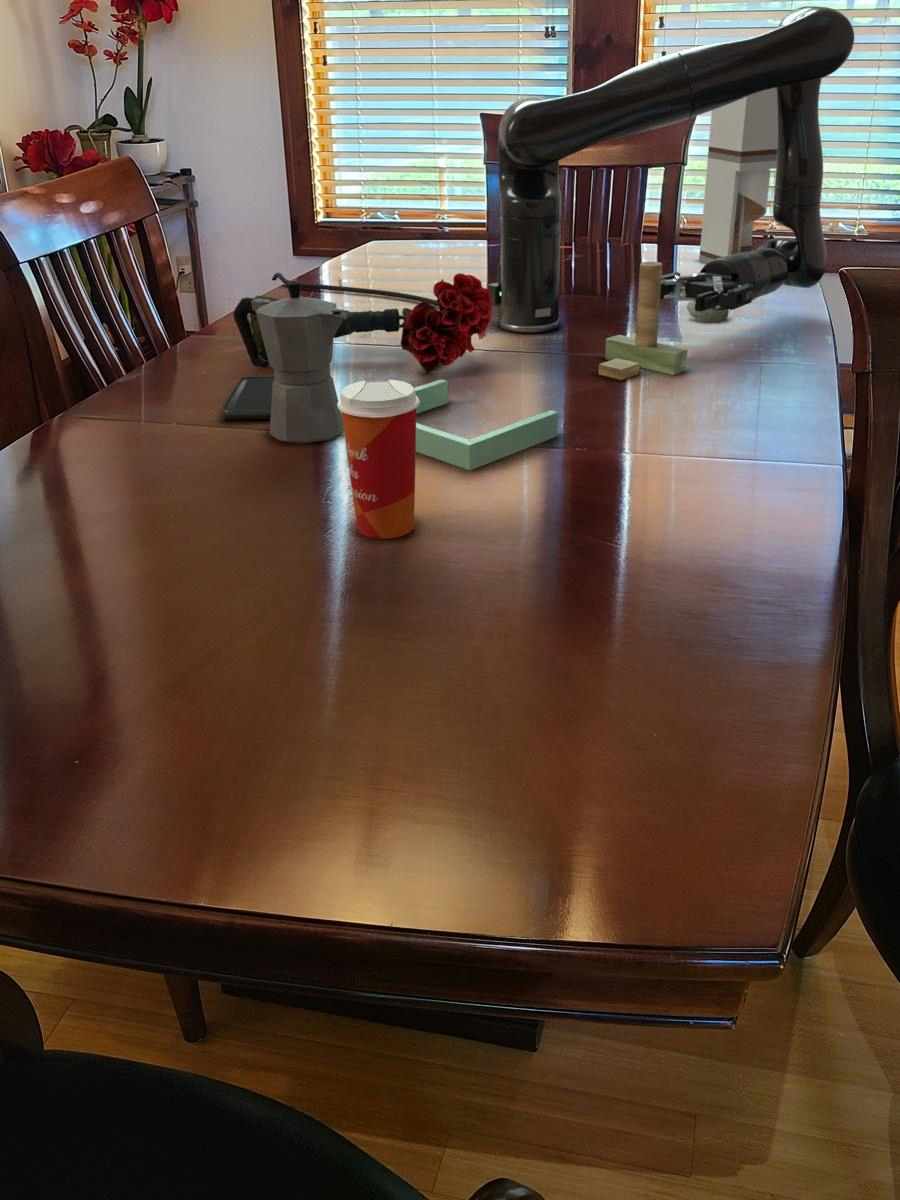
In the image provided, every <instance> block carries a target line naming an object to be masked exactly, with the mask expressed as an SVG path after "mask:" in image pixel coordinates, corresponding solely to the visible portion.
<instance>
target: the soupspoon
mask: <svg viewBox="0 0 900 1200" xmlns="http://www.w3.org/2000/svg"><path fill="white" fill-rule="evenodd" d="M684 288H685V287H681V293H685V289H684ZM686 309H687V311H688V313H689V315H690V316H692V317H693V318H695V319H696V320H699V321H702V322H706V323H718V322H723V321H724V320H726V319H727V318H728V317H729V315H730V314H729V312H730V310H729V309H727V310H721V311H720V310H714V309H712V308H710V309H707V310H704V311H701V312H699V311H696V310H695V301H693V300H690V301H689V302H688V303H687V304H686Z"/></svg>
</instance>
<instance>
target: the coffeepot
mask: <svg viewBox="0 0 900 1200" xmlns="http://www.w3.org/2000/svg"><path fill="white" fill-rule="evenodd" d="M290 281H291V282H288V283H287V285H286V287H287V290H288V294H289V297H286V298H282V299H281V298H280V300H277V301H274V302H271V301H270V300H268V299H254V298H255V297H248V296H247V297H243V298H241V299H240V301H239V302H238V303H237V305H236V307H235V308H234V310H233V314H232V315H233V320H234V322H235V324H236V326H237V329H238V332H239V334H240V336H241V339H242V342H243V344H244V346H245V349H246V351H247V354H248V356H249V359H250V361H251V363H252V365H253V366H255V367H258V368H264V369H265V368H268V367H271V368H272V369H273V376H274V378H275V379H274V382H273V386H272V403H271V419H269V420H270V421H269V435H270V436H272V437H273V438H274V439H275V440H277V441H280V442H283V443H288V444H289V443H290V444H313V443H320V442H325V441H329V440H331V439H333V438H336V437H337V436H339V435H341V434H342V432H343V429H344V427H343V420H342V412H341V411H340V410H339V409H338V407H337V404H338V402H339V397H338V393H337V390H336V386H335V382H334V378H333V376H332V375H331V363H332V361H333V354H334V339H335V338H334V336H335V334H336V332H337V330H338V328H339V326H340V324H341V323H342V321H343V320H345V319H347V315H346V313H345V312H342V310H343V309H339V308H337V306H336V305H337V304H336V302H332V301H327V300H323V299H320V298H314V297H308V296H307V297H306V296H301V288H302V287H301V283H302V282H300V281H297V280H290ZM250 314H253V315H256V316H257V318H258V322H259V326H260V330H261V334H262V338H263V342H264V346H265V349H266V353H267V357H266V358H267V359H265V358H261V356H260V355H259V354H258V347H257V343H256V341H255V339H254V337H253V330H252V327H251V321H250V320H249V317H248V315H250Z"/></svg>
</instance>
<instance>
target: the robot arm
mask: <svg viewBox="0 0 900 1200" xmlns="http://www.w3.org/2000/svg"><path fill="white" fill-rule="evenodd" d="M854 43H855V31H854V27H853V25H852V23H851V21H850V19H848V18H847V17H846V15H844V14H843V13H842V12H840V11H838V10H837V9H834V8H831V7H827V6H815V5H814V6H809V5H807V6H806V5H805V6H800V7H798V8H795V9H793V10H791V11H790V12H789V13H788V14H786V15H785V16H784V18H783V19H781V21H780V22H779V25H778V26H777V28H775V29H772V30H770V31H766V32H764V33H761V34H759V35H755V36H752V37H747V38H744V39H737V40H728V41H722V42H715V43H708V44H703V45H697V46H693V47H688V48H685V49H681V50H676V51H673V52H670V53H668V54H665V55H661V56H658V57H656V58H655V57H654V58H652V59H650V60H647V61H645V62H643V63H640V64H638V65H636V66H634V67H630V68H629V69H627V70H626V71H623V72H621V73H619V74H617V75H616V76H614V77H613V78H611V79H609V80H607V81H605V82H603V83H602V84H600V85H597V86H595V87H592V88H590V89H587V90H584V91H580V92H577V93H572V94H569V95H568V94H567V95H564V96H559V97H555V98H550V99H549V98H548V99H540V98H537V97H523V98H520V99H518V100H516V101H515V102H513V103H511V105H509V107H507V108H506V110H505V111H504V112H503V114H502V116H501V119H500V122H499V125H498V142H497V144H498V148H497V149H498V150H497V151H498V192H499V202H500V262H499V263H498V264H497V282H493V283H488V284H487V289H488V290H489V292H490V294H491V300H492V306H497V324H500V327H501V329H503V330H506V331H509V332H514V333H522V334H531V333H532V334H535V333H544V332H549V331H552V330H555V329H558V327H559V326H560V318H559V310H560V309H559V308H560V307H559V306H560V274H561V273H560V271H561V231H562V229H561V227H562V194H561V188H560V187H561V185H560V176H559V175H560V173H559V172H560V171H559V170H560V168H559V167H560V166H559V165H560V160H563V159H565V158H567V157H569V156H571V155H574V154H576V153H578V152H581V151H583V150H585V149H587V148H590V147H593V146H596V145H597V144H600V143H603V142H606V141H611V140H615V139H620V138H625V137H628V136H629V137H630V136H633V135H637V134H641V133H645V132H649V131H652V130H656V129H660V128H663V127H668V126H670V125H674V124H677V123H681V122H683V121H686V120H689V119H692V118H695V117H698V116H700V115H702V114H706V113H708V112H712V110H714V109H717V108H719V107H722V106H725V105H727V104H730V103H732V102H735V101H737V100H740V99H742V98H745V97H747V96H749V95H752V94H755V93H758V92H761V91H764V90H768V89H772V88H776V87H777V108H778V145H777V164H776V169H775V179H774V188H773V189H774V191H773V205H772V219H773V220H774V222H775V223H777V224H779V225H781V226H783V227H785V228H787V229H790V230H791V231H792V232H793V234H794V237H795V239H792V238H782V237H779V238H778V237H777V238H770V239H768V240H766V241H764V242H763V243H761V245H760V246H757V247H758V248H757V249H756V250H753V251H749V252H740V253H735V254H732V255H728V256H725V257H721V258H717V259H714V260H711V261H710V262H708V263H705V265H703V267H702V268H701V270H700V271H699V272H694V273H693V274H684V275H683V274H682V275H681V272H678V271H674V272H671V273H667V274H662V278H661V293H660V300H664V299H673V300H675V301H676V302H687V301H695V310H696V311H699V312H701V311H704V310H707V309H710V308H712V309H714V310H720V311H721V310H727V309H728V310H729V311H732V310H736V309H738V308H739V309H740V308H741V307H744V306H746V305H749V304H751V303H752V302H753V301H754V300H756V299H757V298H760V297H763V296H766V295H769V294H772V293H774V292H776V291H777V290H779V289H780V288H781V287H782V286H788V287H796V288H802V289H807V288H808V289H809V288H812V287H814V286H816V285H817V284H818V283H819V282H820V281H821V280H822V278H823V276H824V275H825V272H826V269H827V262H828V255H827V254H828V253H827V247H826V241H825V236H824V231H823V224H822V217H821V201H822V192H823V181H824V180H823V179H824V153H823V146H822V145H823V144H822V139H821V137H822V136H821V130H820V121H819V102H820V101H819V100H820V90H821V85H822V84H821V83H822V79H824V78H827V77H828V76H830V75H832V74H833V73H835V72H836V71H837V70H839V69H840V68H841V67H842V66H843V65H844V64H845V62H846V61H847V60H848V58H849V57H850V55H851V53H852V51H853V47H854ZM278 280H280V281H281V283H283V284H285V285H286V286H287V283H288V282H291V281H292V280H289V279H287V278H285V277H284V275H283V274H282V273H281V272H275V273H274V274H273V276H272V278H271V281H278ZM300 283H301V287H300V288H302V289H315V290H323V291H334V292H343V293H344V292H345V293H355V294H366V295H375V296H385V297H390V298H399V299H404V300H409V301H416V302H419V303H422V302H426V301H427V303H429V304H430V305H431V306H434V307H435V306H436V307H439V304H438V301H435V300H436V299H433V298H429V297H424V296H420V295H414V294H410V293H404V292H397V291H391V290H390V291H389V290H382V289H373V288H363V287H353V286H352V287H351V286H342V285H331V284H330V285H329V284H321V283H320V284H319V283H310V282H300ZM681 287H685V288H684V289H685V291H684V294H682V295H681V293H682V292H681Z"/></svg>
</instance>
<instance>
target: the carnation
mask: <svg viewBox="0 0 900 1200" xmlns="http://www.w3.org/2000/svg"><path fill="white" fill-rule="evenodd" d="M452 282H453V284H452V283H450V282H447V281H444V279H443V278H441V280H440V281H437V282H436V283H435V284H434V285H433V290H432V293H433V294H434V296H435V298H437V299H434V300H435V301H438V304H439V306H438V308H439V310H438V309H437V308H436V307H435V306H434V305H432V304H429V303H427V301H426V302H419V303H418V304H417V305H415V306H414V307H413V308H412V309H411V308H407V307H404V308H403V309H402V312H401V314H400V312H399V309H398V308H385V309H384V310H383V311H382V310H375V311H373V310H370V309H369V310H367V311H365V310H363V311H358V310H357V311H350V310H347V309H346V310H345V309H341V310H342V312H345V313H346V315H347V319H345V320H343V321H342V323H341V324H340V326H339V328H338V330H337V332H336V334H335V336H334V339H338V338H341V337H344V336H350V335H352V334H353V333H370V332H374V331H384V332H386V333H395V332H399V331H400V328H401V329H402V332H401V339H400V345H401V349H402V350H404V351H407V352H408V353H410V354H411V355H412V356H413V357H414V358H415V359H416V360H417V362H418V364H419V365H420V367H421V368H422V370H423V371H424V372H425V373H430V372H431V371H434V370H435V369H437V368H438V367H439V366H440V365H441V366H444V367H447V366H450V365H452V364H453V363H454V362H455V361H456V360H458V359H459V357H460V358H463V356H464V355H465V353H466V351H468V353H472V352H474V351H475V347H474V346H473V344H472V336H473V335H477V336H478V339H479V340H480V341H481V340H483V339H484V338H487V337H488V336H487V332H486V331H487V328H489V327H490V326H489V324H490V320H491V317H492V306H493V304H492V300H491V294H490V292H489V290H488V288H485V287H483V285H482V281H481V280H480V279H478V277H476V276H474V275H472V274H464V273H460V272H459V273H456V274H454V276H453V279H452ZM253 298H254V299H268V300H270V301H271V302H274V301H277V300H281V298H276V297H271V296H264V295H261V294H260V295H256V296H254V297H253ZM249 317H250V326H251V330H252V335H253V337H254V339H255V341H256V343H257V347H258V354H259V357H260V358H261V359H267V358H268V357H267V353H266V349H265V346H264V342H263V338H262V334H261V330H260V326H259V322H258V318H257V316H256V315H253V314H250V313H249ZM400 320H403V321H402V322H401V321H400Z"/></svg>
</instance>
